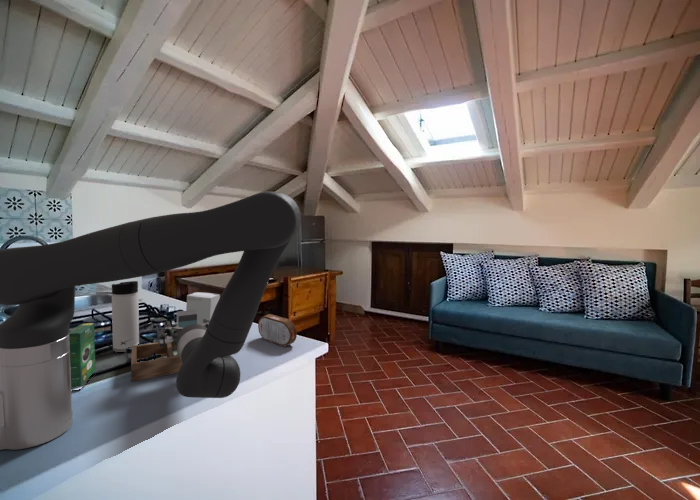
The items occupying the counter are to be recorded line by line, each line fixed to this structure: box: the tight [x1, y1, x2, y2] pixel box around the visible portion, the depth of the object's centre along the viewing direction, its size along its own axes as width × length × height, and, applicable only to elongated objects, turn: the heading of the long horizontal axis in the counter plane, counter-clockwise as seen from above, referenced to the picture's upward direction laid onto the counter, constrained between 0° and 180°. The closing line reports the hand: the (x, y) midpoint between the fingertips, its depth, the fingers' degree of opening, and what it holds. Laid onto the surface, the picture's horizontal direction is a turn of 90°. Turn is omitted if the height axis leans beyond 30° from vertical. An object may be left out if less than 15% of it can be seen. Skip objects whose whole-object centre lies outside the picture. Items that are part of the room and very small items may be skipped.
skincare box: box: [185, 291, 221, 324], centre depth 103 cm, size 8×6×15 cm
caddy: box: [130, 341, 183, 382], centre depth 86 cm, size 17×13×4 cm
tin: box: [257, 313, 298, 347], centre depth 104 cm, size 15×3×8 cm, turn 58°
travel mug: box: [111, 280, 140, 353], centre depth 93 cm, size 6×7×20 cm
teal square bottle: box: [176, 310, 197, 356], centre depth 88 cm, size 4×4×12 cm
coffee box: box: [69, 322, 96, 387], centre depth 74 cm, size 8×3×13 cm, turn 19°
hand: (186, 324), depth 87 cm, fingers open, 8 cm apart
